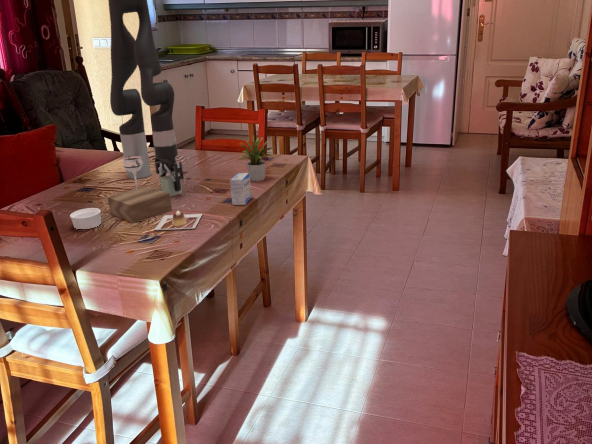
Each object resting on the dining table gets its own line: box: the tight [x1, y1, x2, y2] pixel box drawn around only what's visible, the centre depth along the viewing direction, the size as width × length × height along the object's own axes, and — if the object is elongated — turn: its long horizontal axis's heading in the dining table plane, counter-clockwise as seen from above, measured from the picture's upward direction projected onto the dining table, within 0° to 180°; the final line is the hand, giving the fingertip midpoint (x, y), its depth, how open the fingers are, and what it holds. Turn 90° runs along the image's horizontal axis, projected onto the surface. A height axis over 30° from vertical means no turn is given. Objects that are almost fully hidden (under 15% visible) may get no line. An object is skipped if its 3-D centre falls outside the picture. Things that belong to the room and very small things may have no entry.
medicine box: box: [229, 172, 253, 206], centre depth 187 cm, size 8×4×9 cm, turn 168°
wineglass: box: [122, 155, 143, 190], centre depth 205 cm, size 7×7×12 cm
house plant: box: [239, 134, 277, 182], centre depth 207 cm, size 14×14×16 cm
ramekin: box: [69, 207, 102, 230], centre depth 174 cm, size 9×9×4 cm
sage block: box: [159, 174, 183, 197], centre depth 200 cm, size 5×5×6 cm
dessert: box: [154, 210, 203, 231], centre depth 172 cm, size 12×12×5 cm
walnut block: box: [107, 185, 173, 224], centre depth 183 cm, size 14×14×6 cm
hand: (171, 188), depth 200 cm, fingers open, 8 cm apart
